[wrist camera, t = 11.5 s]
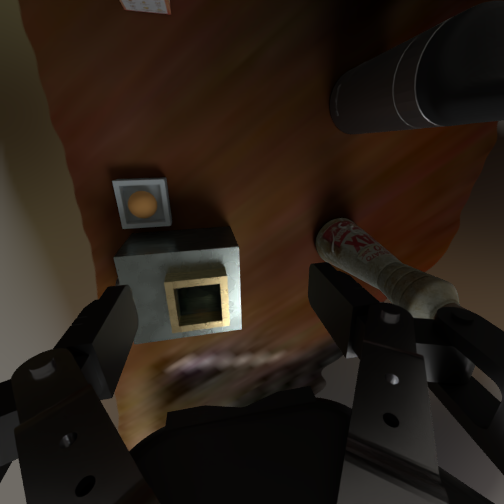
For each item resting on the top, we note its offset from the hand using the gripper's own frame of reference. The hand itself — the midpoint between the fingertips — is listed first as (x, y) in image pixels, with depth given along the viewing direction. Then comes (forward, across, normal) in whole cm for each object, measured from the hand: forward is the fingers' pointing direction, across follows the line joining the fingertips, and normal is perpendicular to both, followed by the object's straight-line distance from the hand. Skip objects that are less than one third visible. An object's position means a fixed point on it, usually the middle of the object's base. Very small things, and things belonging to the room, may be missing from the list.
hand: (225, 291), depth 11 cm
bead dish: (+32, +10, +1) cm, 34 cm away
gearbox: (+32, +6, +14) cm, 35 cm away
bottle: (+33, -22, +11) cm, 42 cm away
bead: (+31, +10, +1) cm, 33 cm away
